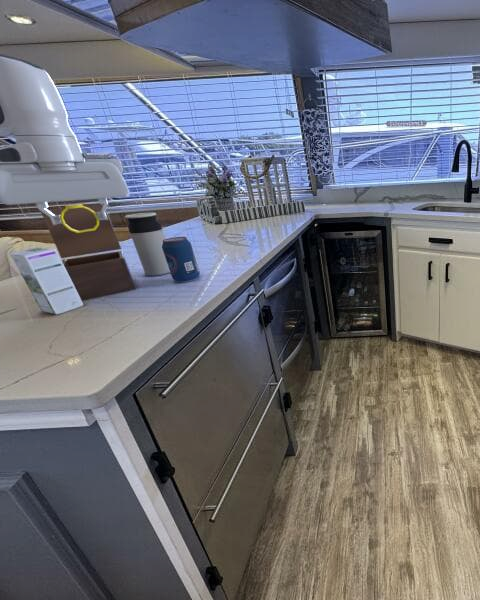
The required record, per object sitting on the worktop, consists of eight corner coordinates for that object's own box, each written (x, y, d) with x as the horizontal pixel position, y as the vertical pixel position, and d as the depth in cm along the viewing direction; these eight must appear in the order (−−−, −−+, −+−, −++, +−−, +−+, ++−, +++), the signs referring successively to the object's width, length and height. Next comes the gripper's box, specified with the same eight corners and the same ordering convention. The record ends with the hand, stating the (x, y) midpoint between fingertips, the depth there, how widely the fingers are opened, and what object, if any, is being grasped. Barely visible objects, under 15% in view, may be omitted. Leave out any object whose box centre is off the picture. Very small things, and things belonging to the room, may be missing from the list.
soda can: (169, 281, 93) (154, 240, 89) (193, 274, 99) (181, 235, 94) (181, 284, 90) (167, 242, 85) (205, 277, 95) (193, 237, 90)
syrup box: (85, 305, 79) (57, 247, 73) (55, 315, 74) (22, 254, 68) (70, 303, 80) (42, 246, 75) (40, 313, 75) (7, 252, 70)
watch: (103, 229, 74) (92, 202, 72) (103, 230, 72) (92, 203, 70) (67, 233, 71) (55, 205, 68) (67, 235, 69) (54, 206, 66)
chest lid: (104, 204, 89) (104, 205, 90) (40, 210, 82) (40, 210, 82) (121, 249, 92) (121, 249, 93) (61, 258, 85) (61, 258, 86)
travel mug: (181, 270, 103) (162, 212, 96) (154, 277, 97) (132, 217, 90) (167, 267, 107) (148, 212, 100) (140, 274, 100) (118, 216, 93)
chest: (135, 288, 88) (123, 258, 85) (73, 302, 81) (57, 268, 77) (133, 279, 96) (122, 250, 93) (76, 290, 89) (62, 259, 86)
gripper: (117, 153, 73) (138, 215, 79) (-19, 154, 61) (17, 226, 67) (118, 152, 69) (140, 217, 74) (-29, 152, 57) (11, 230, 62)
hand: (81, 222), depth 71 cm, fingers closed on watch, 6 cm apart
